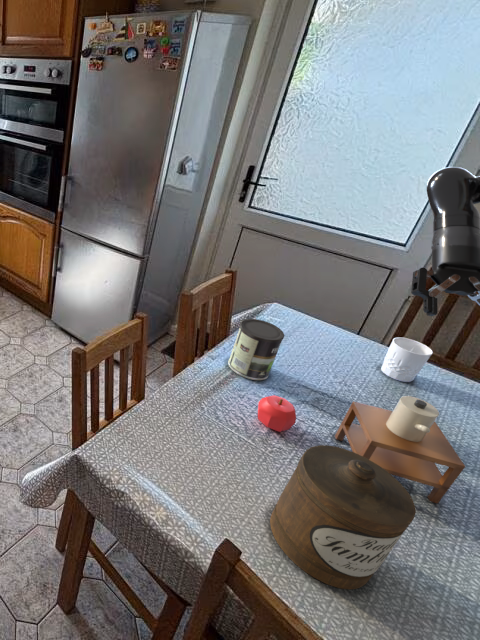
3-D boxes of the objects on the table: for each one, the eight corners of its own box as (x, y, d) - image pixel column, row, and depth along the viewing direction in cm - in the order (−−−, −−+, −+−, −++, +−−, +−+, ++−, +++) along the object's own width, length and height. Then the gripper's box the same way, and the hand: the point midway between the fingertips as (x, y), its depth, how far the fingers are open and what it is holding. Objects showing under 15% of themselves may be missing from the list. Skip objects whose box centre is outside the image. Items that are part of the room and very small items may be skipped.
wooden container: (314, 595, 70) (367, 514, 60) (251, 509, 83) (287, 432, 73) (393, 585, 71) (458, 504, 61) (319, 502, 84) (362, 425, 75)
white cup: (380, 376, 117) (395, 348, 112) (375, 361, 123) (390, 334, 118) (418, 387, 113) (436, 359, 108) (412, 371, 118) (428, 343, 114)
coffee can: (271, 367, 121) (287, 327, 115) (264, 386, 114) (281, 345, 108) (232, 352, 127) (245, 314, 121) (223, 369, 120) (236, 329, 114)
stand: (411, 457, 93) (435, 421, 88) (437, 503, 84) (465, 466, 79) (334, 435, 99) (352, 401, 94) (350, 477, 89) (371, 440, 84)
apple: (260, 406, 107) (270, 383, 104) (296, 426, 102) (307, 402, 98) (247, 420, 103) (256, 396, 100) (283, 442, 97) (294, 417, 94)
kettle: (381, 416, 90) (397, 389, 86) (415, 425, 88) (433, 397, 84) (396, 444, 83) (414, 416, 80) (433, 455, 81) (454, 425, 78)
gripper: (425, 239, 91) (425, 308, 87) (517, 249, 86) (522, 324, 81) (404, 251, 98) (404, 316, 94) (488, 262, 92) (491, 331, 88)
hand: (459, 319), depth 87 cm, fingers open, 8 cm apart
